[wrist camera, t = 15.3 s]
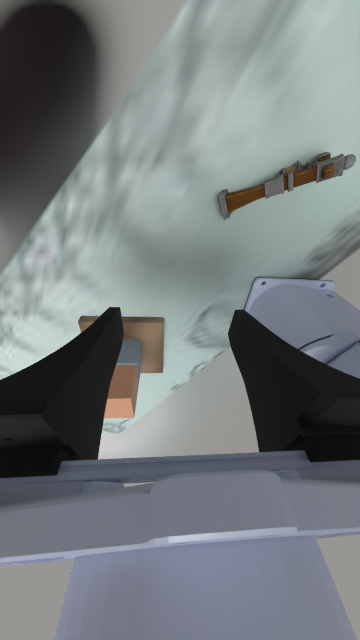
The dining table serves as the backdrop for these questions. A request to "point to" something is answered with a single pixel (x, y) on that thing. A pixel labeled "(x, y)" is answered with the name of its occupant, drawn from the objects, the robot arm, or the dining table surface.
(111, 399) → the terracotta cube
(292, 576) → the robot arm
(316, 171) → the wooden post with brackets
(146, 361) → the walnut base plate
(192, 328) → the dining table surface
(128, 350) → the slate cube
